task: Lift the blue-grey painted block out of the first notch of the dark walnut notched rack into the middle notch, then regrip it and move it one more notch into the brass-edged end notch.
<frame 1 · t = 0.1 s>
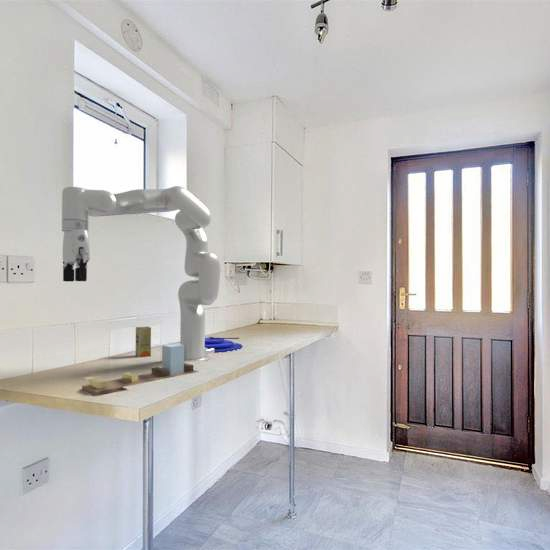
hand: (74, 281, 124), 31 cm above the table, fingers open, 9 cm apart
painted block: (172, 372, 131), point 1 cm above the table, touching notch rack
coiled blue cable: (211, 349, 189), on the table
shoe polish box: (143, 356, 167), on the table
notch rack: (145, 381, 123), on the table
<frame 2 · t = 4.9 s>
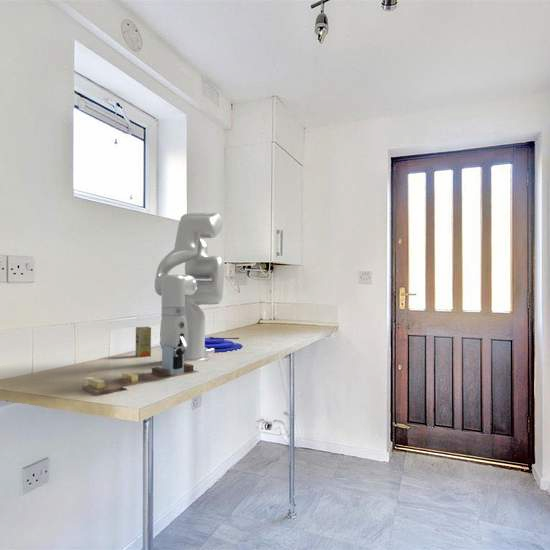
hand: (172, 366, 131), 3 cm above the table, fingers closed on painted block, 5 cm apart
painted block: (172, 372, 131), point 1 cm above the table, touching gripper, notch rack
everything else where it was.
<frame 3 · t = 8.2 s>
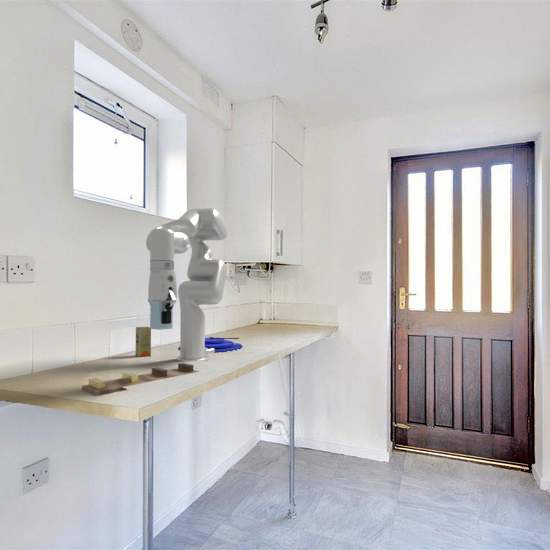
hand: (161, 322, 127), 18 cm above the table, fingers closed on painted block, 5 cm apart
painted block: (161, 328, 127), point 16 cm above the table, touching gripper
everything else where it was.
when the fingers open (4 cm above the table, at t = 11.5 s): painted block drops 1 cm, resting on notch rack.
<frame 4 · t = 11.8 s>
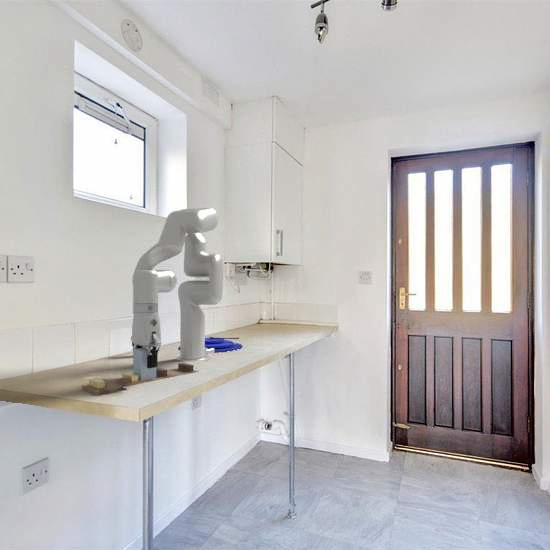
hand: (145, 365, 123), 5 cm above the table, fingers open, 7 cm apart
painted block: (144, 377, 123), point 1 cm above the table, touching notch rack
everything else where it was.
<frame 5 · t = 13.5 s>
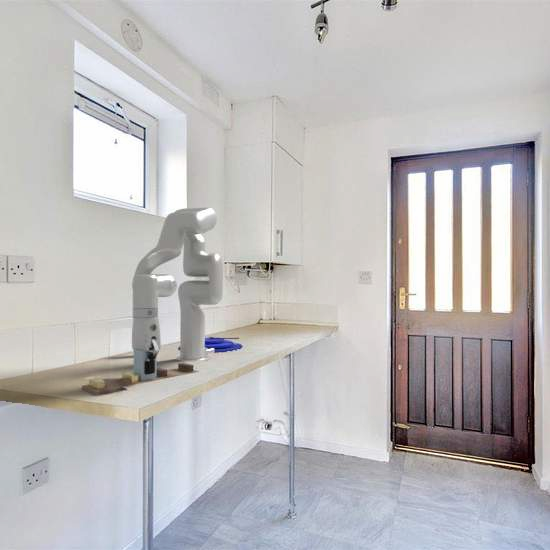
hand: (144, 371, 123), 3 cm above the table, fingers closed on painted block, 4 cm apart
painted block: (145, 377, 123), point 1 cm above the table, touching gripper, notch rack
everything else where it was.
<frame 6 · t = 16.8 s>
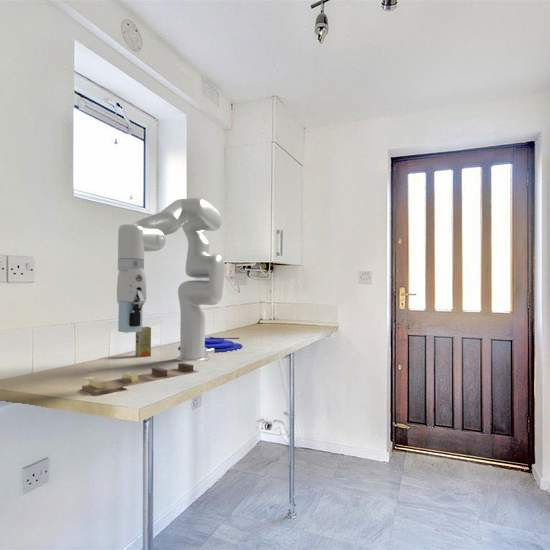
hand: (130, 325, 120), 18 cm above the table, fingers closed on painted block, 4 cm apart
painted block: (130, 331, 120), point 16 cm above the table, touching gripper
everything else where it was.
when the fingers open (4 cm above the table, at t = 20.1 s): painted block drops 1 cm, resting on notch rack.
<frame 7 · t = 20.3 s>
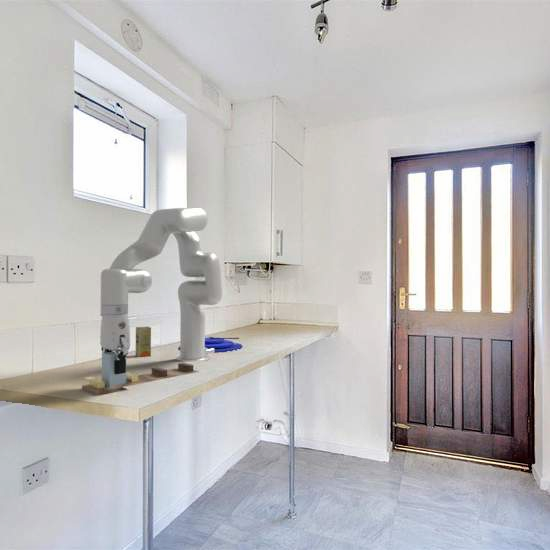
hand: (113, 371, 116), 5 cm above the table, fingers open, 7 cm apart
painted block: (113, 383, 116), point 1 cm above the table, touching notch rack
everything else where it was.
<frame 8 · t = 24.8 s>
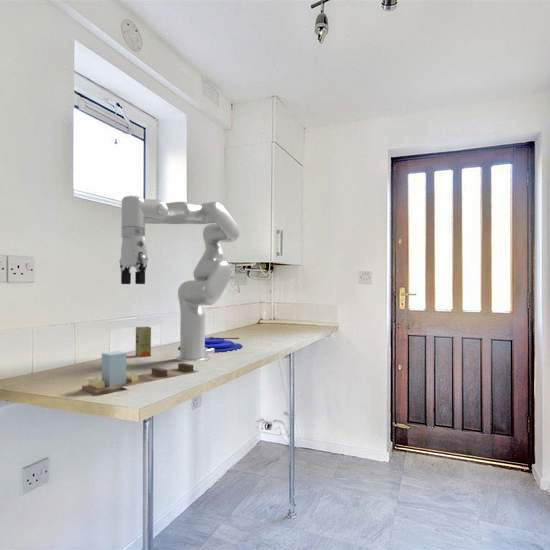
hand: (132, 284, 133), 30 cm above the table, fingers open, 9 cm apart
nothing on the table moved.
at the end: painted block 0.1 cm from the target spot on the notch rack, point 1.0 cm above the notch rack's base; painted block tilted 0°; the gripper is holding nothing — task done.
